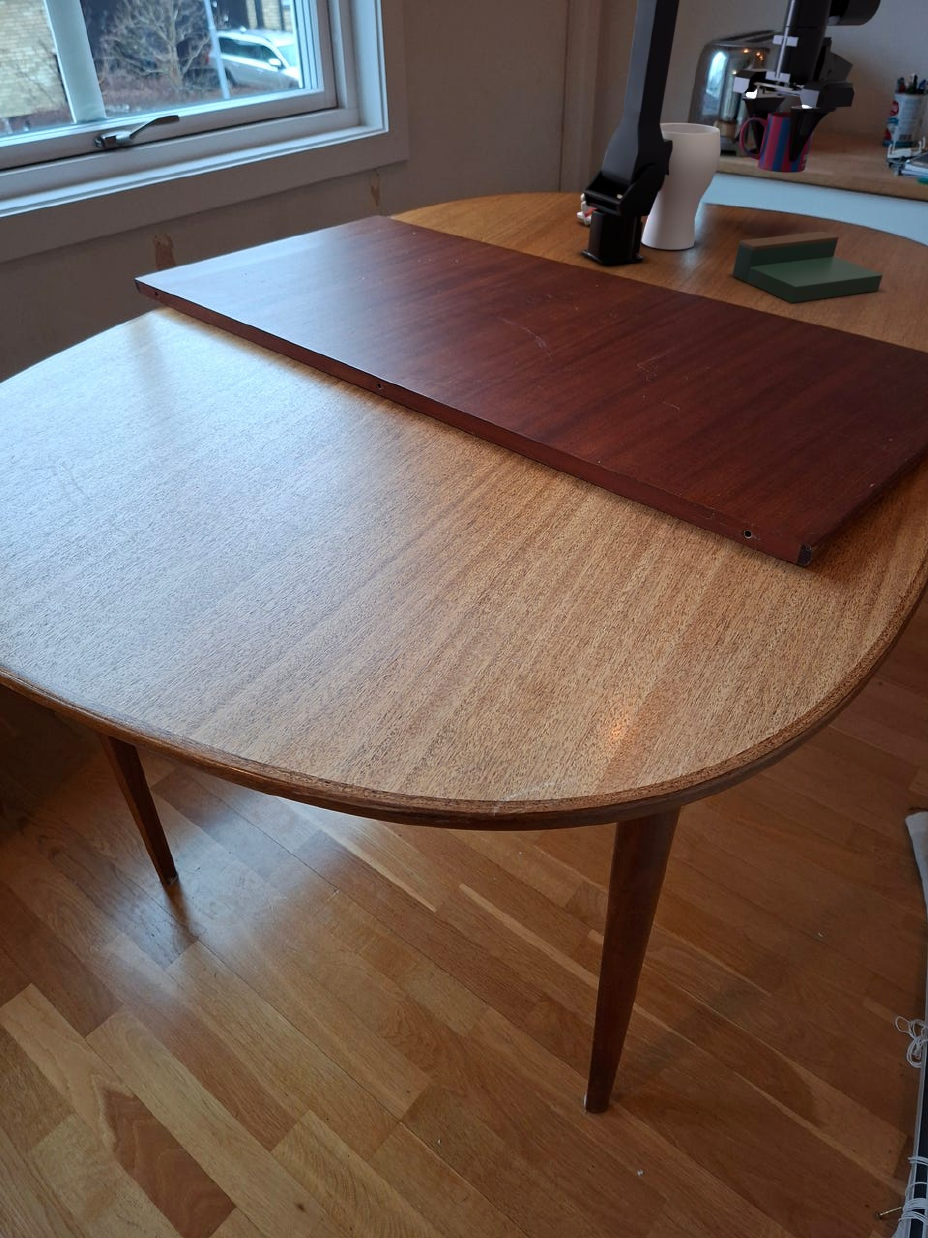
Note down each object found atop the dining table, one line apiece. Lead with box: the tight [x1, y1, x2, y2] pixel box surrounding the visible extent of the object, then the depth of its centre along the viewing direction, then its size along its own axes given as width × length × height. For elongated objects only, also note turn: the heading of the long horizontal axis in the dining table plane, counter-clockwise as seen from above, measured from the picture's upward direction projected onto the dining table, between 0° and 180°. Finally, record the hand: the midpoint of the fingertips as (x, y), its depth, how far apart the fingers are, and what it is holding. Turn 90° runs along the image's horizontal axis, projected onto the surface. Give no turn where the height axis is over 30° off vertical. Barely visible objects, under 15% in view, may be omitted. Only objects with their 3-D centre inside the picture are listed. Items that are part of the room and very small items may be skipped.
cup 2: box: [739, 111, 815, 174], centre depth 123 cm, size 7×10×7 cm
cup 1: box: [641, 122, 722, 251], centre depth 122 cm, size 11×11×15 cm
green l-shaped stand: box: [732, 230, 883, 304], centre depth 110 cm, size 14×12×4 cm
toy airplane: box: [576, 193, 622, 226], centre depth 133 cm, size 9×9×6 cm
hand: (776, 156), depth 124 cm, fingers closed on cup 2, 7 cm apart
